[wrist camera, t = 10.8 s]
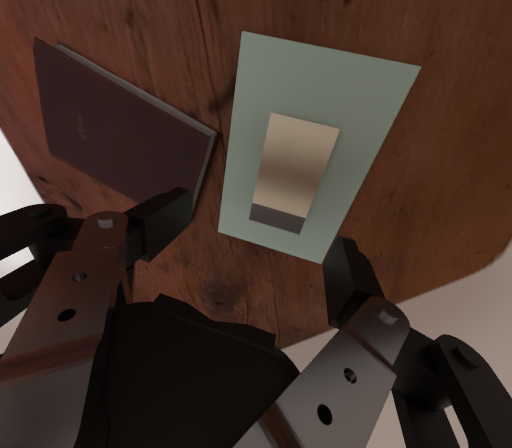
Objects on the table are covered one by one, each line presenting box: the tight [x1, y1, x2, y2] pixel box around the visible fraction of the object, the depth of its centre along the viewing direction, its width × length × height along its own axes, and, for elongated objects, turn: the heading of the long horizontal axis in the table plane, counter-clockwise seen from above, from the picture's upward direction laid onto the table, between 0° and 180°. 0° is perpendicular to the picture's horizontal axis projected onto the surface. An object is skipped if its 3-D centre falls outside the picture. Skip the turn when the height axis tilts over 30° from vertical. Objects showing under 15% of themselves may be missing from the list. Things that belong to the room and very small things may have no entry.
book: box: [33, 37, 219, 221], centre depth 23 cm, size 12×19×3 cm, turn 64°
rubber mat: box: [218, 31, 421, 264], centre depth 20 cm, size 14×20×1 cm
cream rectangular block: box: [249, 113, 340, 235], centre depth 19 cm, size 10×6×3 cm, turn 168°
